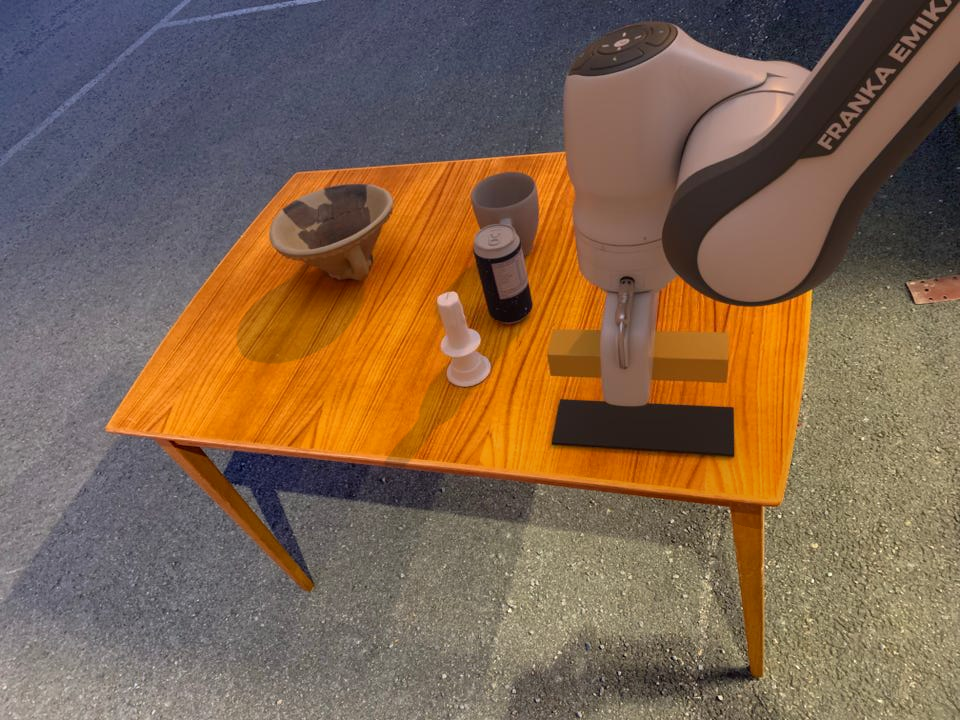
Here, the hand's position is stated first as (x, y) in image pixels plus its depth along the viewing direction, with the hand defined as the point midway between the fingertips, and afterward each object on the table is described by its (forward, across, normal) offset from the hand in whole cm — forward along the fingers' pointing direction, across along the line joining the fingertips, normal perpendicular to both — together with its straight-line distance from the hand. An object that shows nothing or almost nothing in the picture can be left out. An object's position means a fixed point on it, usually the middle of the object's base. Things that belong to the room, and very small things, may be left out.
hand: (637, 361), depth 65 cm
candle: (+10, +7, +20) cm, 24 cm away
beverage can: (+10, +17, +17) cm, 27 cm away
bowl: (+10, +27, +44) cm, 53 cm away
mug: (+10, +29, +19) cm, 37 cm away
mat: (+10, 0, 0) cm, 10 cm away
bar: (+1, 0, 0) cm, 1 cm away
